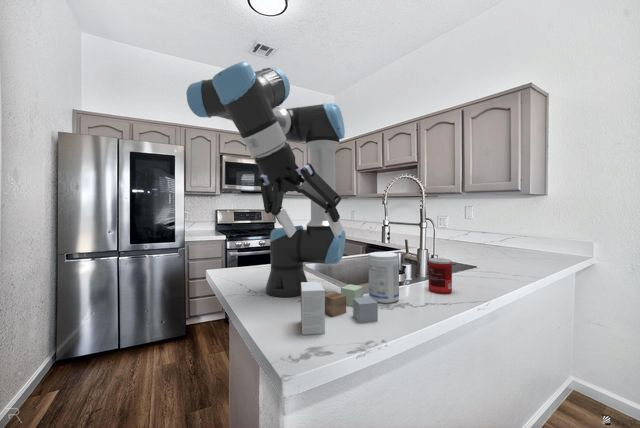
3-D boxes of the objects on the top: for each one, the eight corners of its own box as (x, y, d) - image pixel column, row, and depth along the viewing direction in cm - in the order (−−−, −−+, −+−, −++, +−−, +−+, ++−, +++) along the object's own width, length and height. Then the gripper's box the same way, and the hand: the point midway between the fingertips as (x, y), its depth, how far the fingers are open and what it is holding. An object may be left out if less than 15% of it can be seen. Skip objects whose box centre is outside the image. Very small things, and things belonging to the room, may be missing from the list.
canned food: (447, 287, 103) (447, 257, 102) (455, 294, 95) (455, 262, 94) (425, 287, 103) (425, 257, 103) (432, 294, 95) (432, 261, 95)
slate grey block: (353, 316, 77) (353, 298, 77) (370, 314, 78) (370, 296, 78) (359, 323, 72) (359, 304, 72) (377, 321, 73) (377, 302, 73)
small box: (300, 321, 74) (300, 281, 73) (322, 320, 74) (321, 281, 74) (301, 335, 66) (300, 290, 65) (325, 334, 66) (324, 289, 66)
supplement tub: (388, 293, 97) (387, 250, 97) (405, 301, 88) (405, 255, 88) (363, 296, 94) (363, 252, 93) (378, 305, 85) (378, 257, 84)
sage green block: (341, 303, 87) (340, 287, 87) (349, 299, 91) (349, 284, 91) (355, 307, 84) (354, 290, 84) (363, 302, 88) (362, 286, 88)
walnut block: (321, 312, 80) (321, 294, 80) (334, 308, 83) (334, 291, 83) (332, 317, 76) (332, 299, 76) (346, 313, 79) (346, 295, 79)
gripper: (220, 168, 60) (267, 243, 69) (310, 144, 45) (355, 244, 54) (243, 153, 65) (284, 225, 74) (330, 126, 50) (368, 221, 59)
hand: (314, 233), depth 64 cm, fingers open, 13 cm apart
